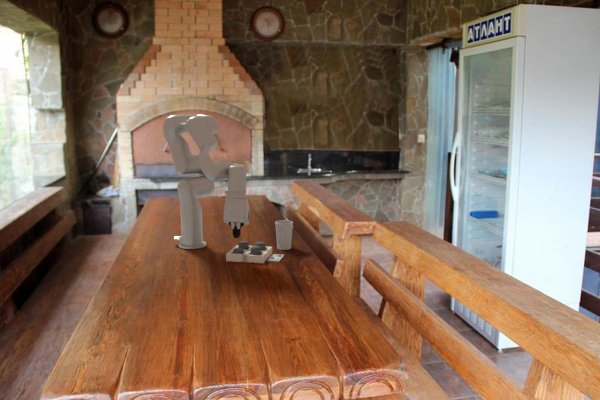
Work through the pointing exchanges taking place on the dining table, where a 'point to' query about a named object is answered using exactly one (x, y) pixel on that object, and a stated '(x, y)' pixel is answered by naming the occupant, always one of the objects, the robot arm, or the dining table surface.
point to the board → (249, 255)
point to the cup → (284, 234)
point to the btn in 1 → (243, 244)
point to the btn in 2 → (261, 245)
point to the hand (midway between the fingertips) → (236, 237)
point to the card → (275, 258)
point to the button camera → (255, 250)
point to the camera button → (238, 251)
